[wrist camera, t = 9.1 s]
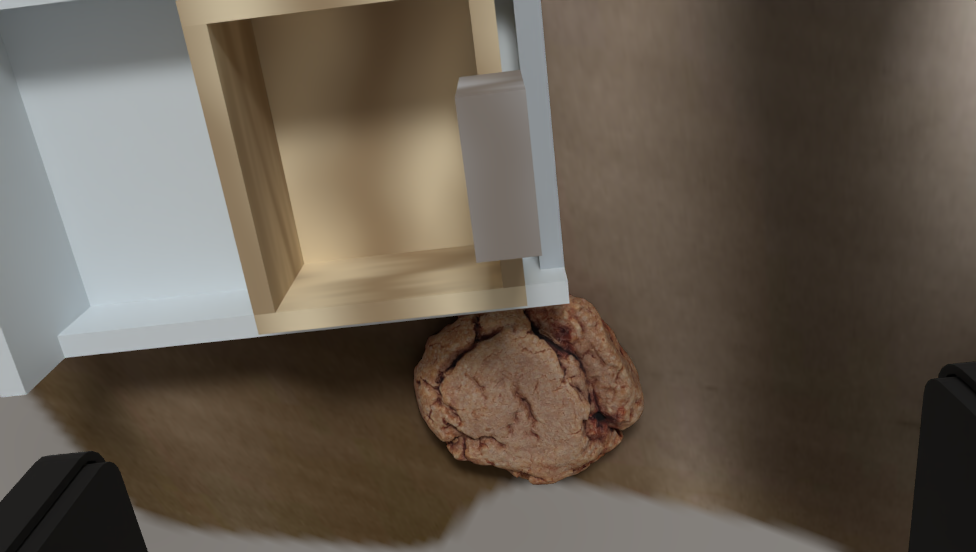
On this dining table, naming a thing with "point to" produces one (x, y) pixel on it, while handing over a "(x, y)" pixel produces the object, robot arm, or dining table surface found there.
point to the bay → (154, 186)
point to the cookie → (529, 389)
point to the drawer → (367, 156)
